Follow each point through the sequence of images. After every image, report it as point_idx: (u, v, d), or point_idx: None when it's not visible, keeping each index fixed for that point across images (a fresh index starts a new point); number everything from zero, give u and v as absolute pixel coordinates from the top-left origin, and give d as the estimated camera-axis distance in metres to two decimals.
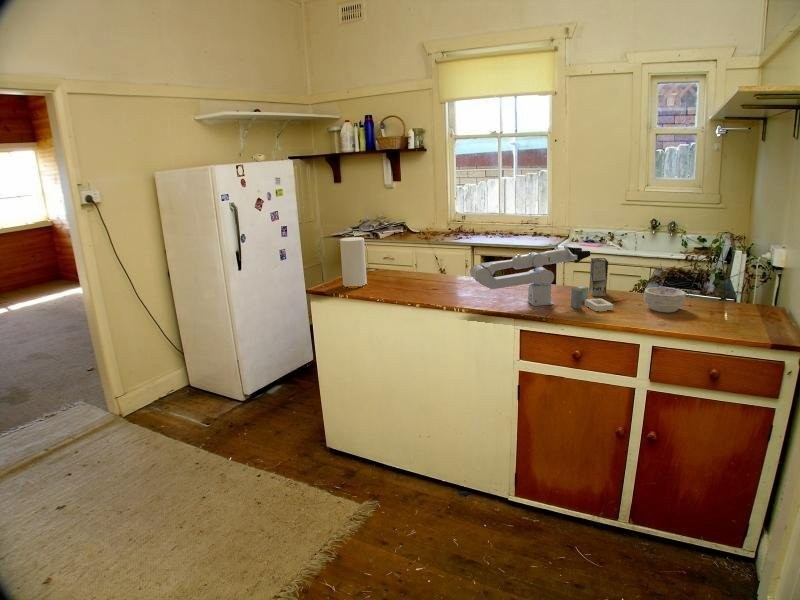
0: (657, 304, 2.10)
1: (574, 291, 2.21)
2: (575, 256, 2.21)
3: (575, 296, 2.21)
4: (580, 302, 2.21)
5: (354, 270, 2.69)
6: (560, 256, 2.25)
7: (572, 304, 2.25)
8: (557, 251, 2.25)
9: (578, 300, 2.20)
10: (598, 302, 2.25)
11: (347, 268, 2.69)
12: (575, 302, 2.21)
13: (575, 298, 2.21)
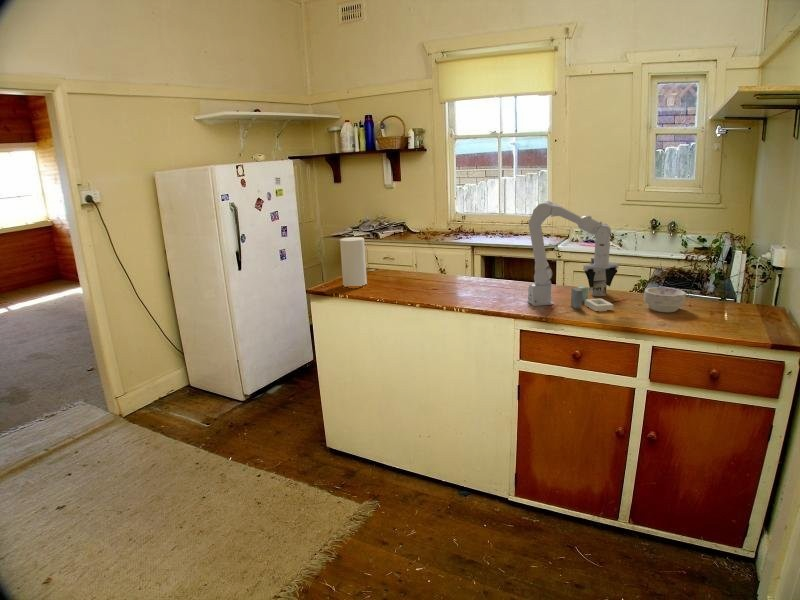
0: (657, 304, 2.10)
1: (574, 291, 2.21)
2: (585, 268, 2.16)
3: (575, 296, 2.21)
4: (580, 302, 2.21)
5: (354, 270, 2.69)
6: (595, 256, 2.15)
7: (572, 304, 2.25)
8: (601, 255, 2.13)
9: (578, 300, 2.20)
10: (598, 302, 2.25)
11: (347, 268, 2.69)
12: (575, 302, 2.21)
13: (575, 298, 2.21)
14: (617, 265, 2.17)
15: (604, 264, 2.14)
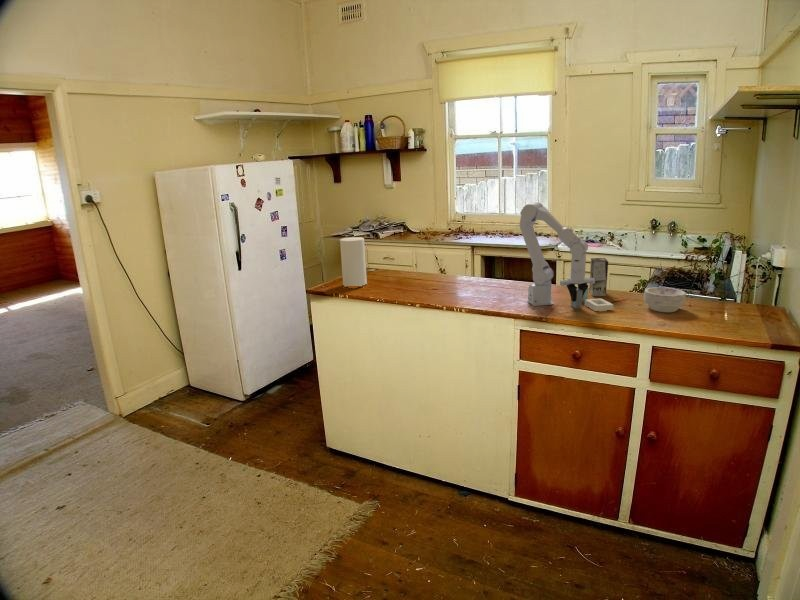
0: (657, 304, 2.10)
1: None
2: (561, 283, 2.20)
3: (575, 296, 2.21)
4: (580, 302, 2.21)
5: (354, 270, 2.69)
6: (572, 272, 2.19)
7: (572, 303, 2.25)
8: (577, 271, 2.17)
9: (578, 300, 2.20)
10: (598, 302, 2.25)
11: (347, 268, 2.69)
12: (575, 302, 2.21)
13: (575, 298, 2.21)
14: (593, 280, 2.21)
15: (580, 279, 2.18)
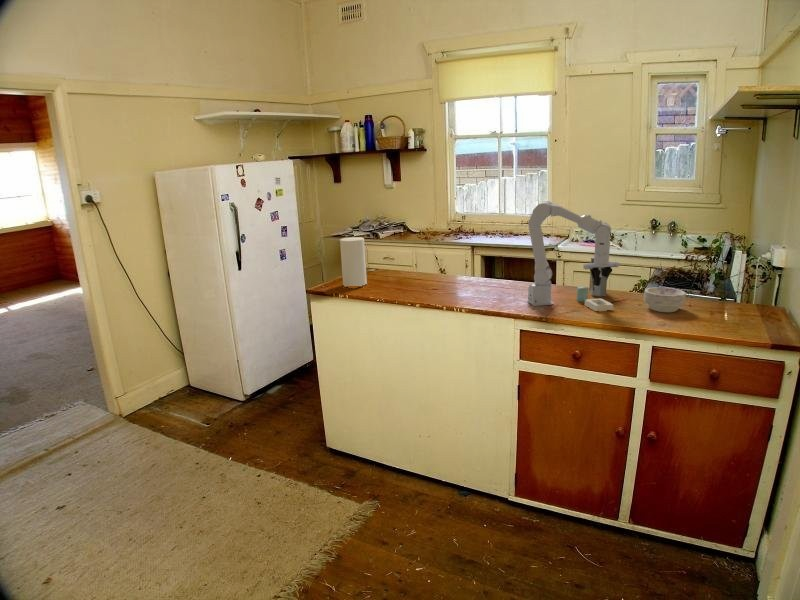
0: (657, 304, 2.10)
1: None
2: (585, 267, 2.16)
3: (599, 283, 2.17)
4: (604, 289, 2.17)
5: (354, 270, 2.69)
6: (595, 255, 2.15)
7: (595, 291, 2.21)
8: (601, 254, 2.13)
9: (602, 287, 2.17)
10: (598, 302, 2.25)
11: (347, 268, 2.69)
12: (599, 289, 2.18)
13: (599, 285, 2.17)
14: (617, 264, 2.17)
15: (604, 263, 2.14)
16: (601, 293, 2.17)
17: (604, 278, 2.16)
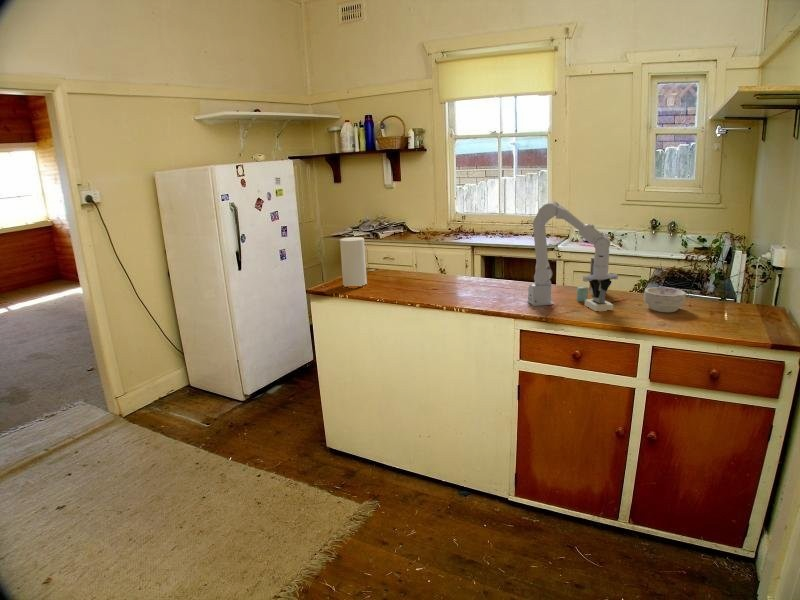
0: (657, 304, 2.10)
1: None
2: (584, 279, 2.17)
3: (598, 296, 2.19)
4: (603, 303, 2.19)
5: (354, 270, 2.69)
6: (595, 267, 2.17)
7: None
8: (601, 267, 2.15)
9: (601, 300, 2.18)
10: None
11: (347, 268, 2.69)
12: (598, 302, 2.19)
13: (598, 298, 2.19)
14: (616, 276, 2.18)
15: (603, 275, 2.15)
16: None
17: (603, 291, 2.17)
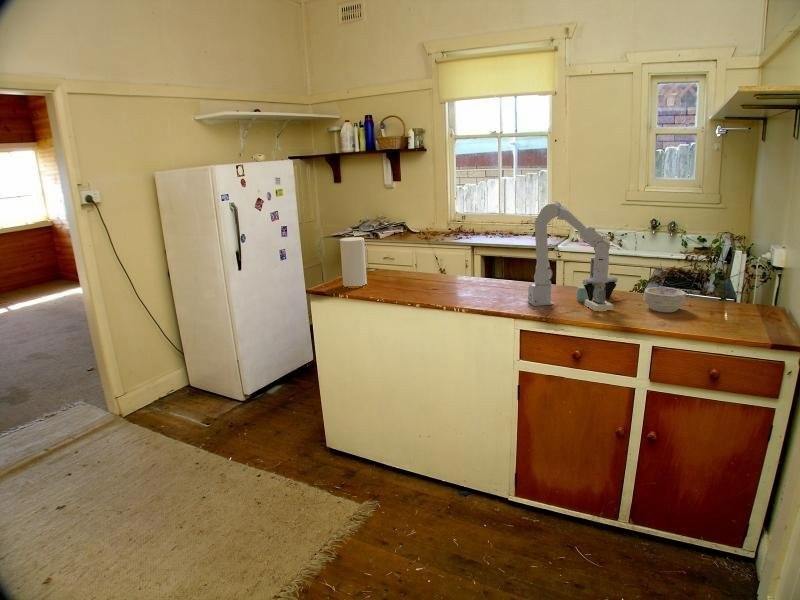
0: (657, 304, 2.10)
1: (597, 291, 2.20)
2: (584, 282, 2.18)
3: (598, 296, 2.19)
4: (603, 303, 2.19)
5: (354, 270, 2.69)
6: (594, 271, 2.17)
7: None
8: (600, 270, 2.15)
9: (601, 301, 2.19)
10: None
11: (347, 268, 2.69)
12: (598, 302, 2.19)
13: (598, 298, 2.19)
14: (616, 279, 2.19)
15: (603, 278, 2.16)
16: None
17: (603, 292, 2.18)
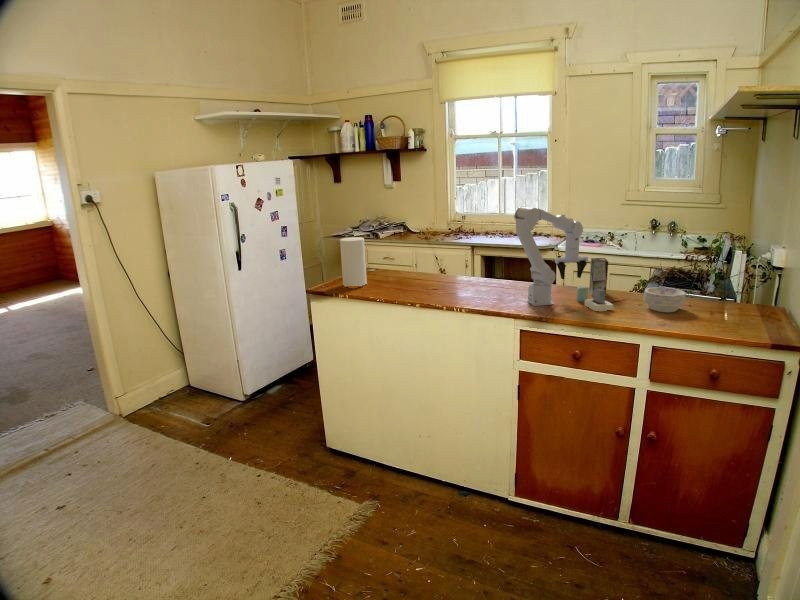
0: (657, 304, 2.10)
1: (597, 291, 2.20)
2: (556, 261, 2.32)
3: (598, 296, 2.19)
4: (603, 303, 2.19)
5: (354, 270, 2.69)
6: (566, 250, 2.31)
7: None
8: (571, 249, 2.29)
9: (601, 301, 2.19)
10: None
11: (347, 268, 2.69)
12: (598, 302, 2.19)
13: (598, 298, 2.19)
14: (587, 258, 2.32)
15: (574, 257, 2.30)
16: None
17: (603, 292, 2.18)
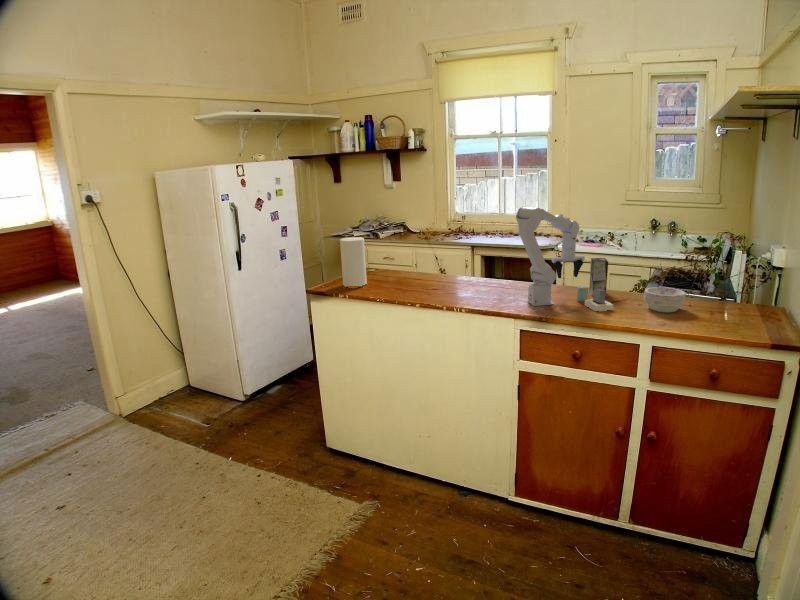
0: (657, 304, 2.10)
1: (597, 291, 2.20)
2: (553, 260, 2.33)
3: (598, 296, 2.19)
4: (603, 303, 2.19)
5: (354, 270, 2.69)
6: (563, 249, 2.33)
7: None
8: (568, 249, 2.31)
9: (601, 301, 2.19)
10: None
11: (347, 268, 2.69)
12: (598, 302, 2.19)
13: (598, 298, 2.19)
14: (583, 258, 2.34)
15: (571, 257, 2.32)
16: None
17: (603, 292, 2.18)
